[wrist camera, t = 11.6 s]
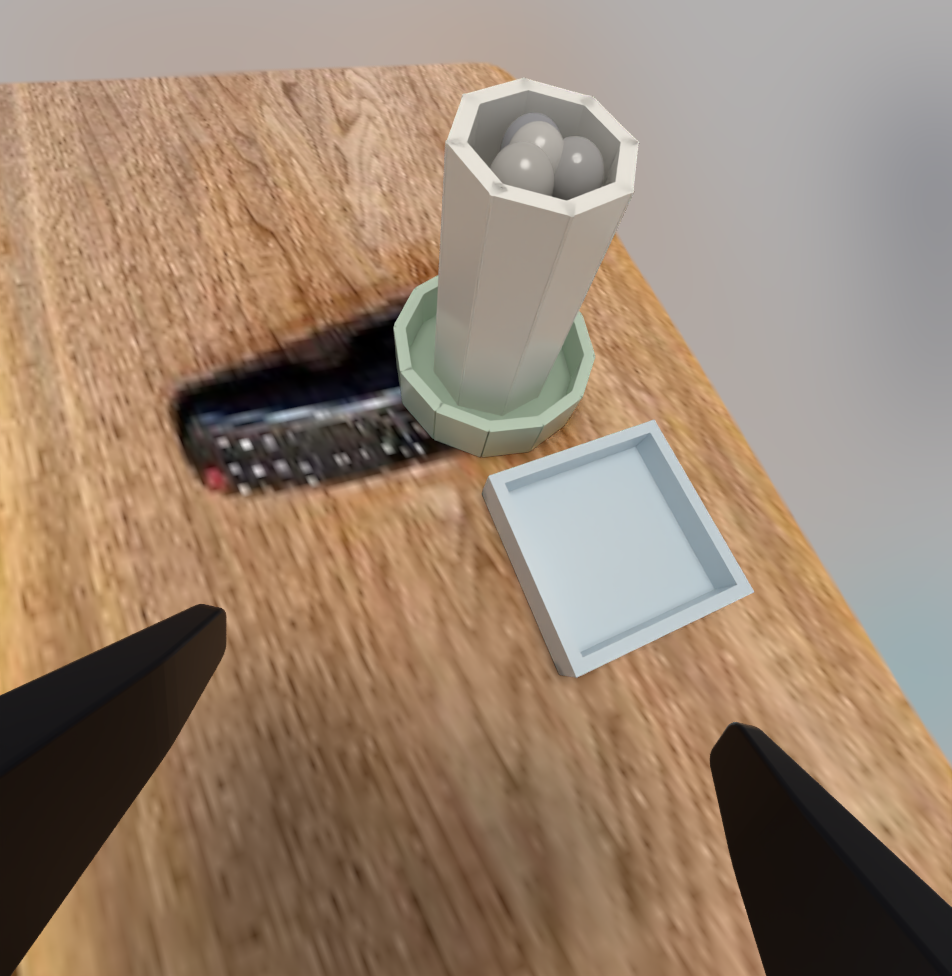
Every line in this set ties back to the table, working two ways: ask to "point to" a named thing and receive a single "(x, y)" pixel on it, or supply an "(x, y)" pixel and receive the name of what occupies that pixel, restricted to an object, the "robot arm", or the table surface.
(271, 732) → the table surface
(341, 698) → the table surface
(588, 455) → the parts tray
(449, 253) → the pebble cup
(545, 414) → the bowl
